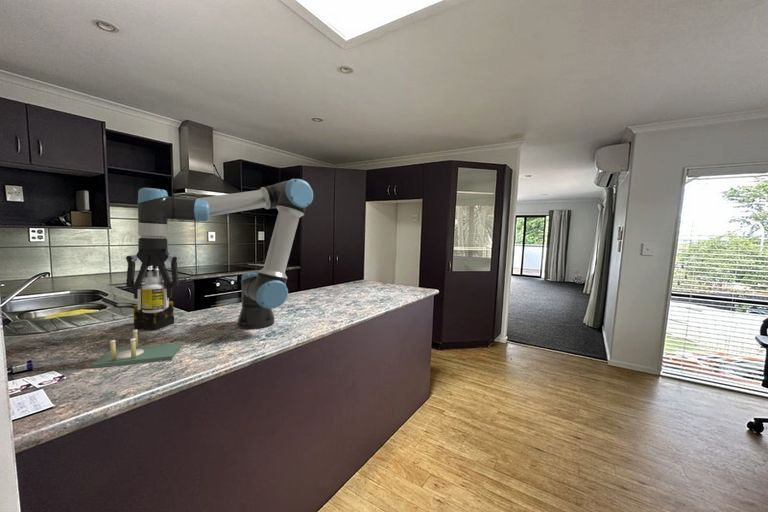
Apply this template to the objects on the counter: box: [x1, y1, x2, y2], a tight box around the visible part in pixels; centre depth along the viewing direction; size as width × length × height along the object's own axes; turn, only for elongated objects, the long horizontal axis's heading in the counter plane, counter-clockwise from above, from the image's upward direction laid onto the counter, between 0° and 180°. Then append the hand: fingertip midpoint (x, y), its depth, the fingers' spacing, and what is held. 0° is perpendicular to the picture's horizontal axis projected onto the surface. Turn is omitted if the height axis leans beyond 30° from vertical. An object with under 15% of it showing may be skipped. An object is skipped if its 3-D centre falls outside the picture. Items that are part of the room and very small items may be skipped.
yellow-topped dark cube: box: [132, 300, 175, 331], centre depth 129 cm, size 10×10×10 cm
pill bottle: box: [141, 276, 166, 313], centre depth 100 cm, size 6×6×11 cm
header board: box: [91, 329, 183, 369], centre depth 100 cm, size 20×12×7 cm, turn 111°
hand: (153, 307), depth 100 cm, fingers closed on pill bottle, 6 cm apart
